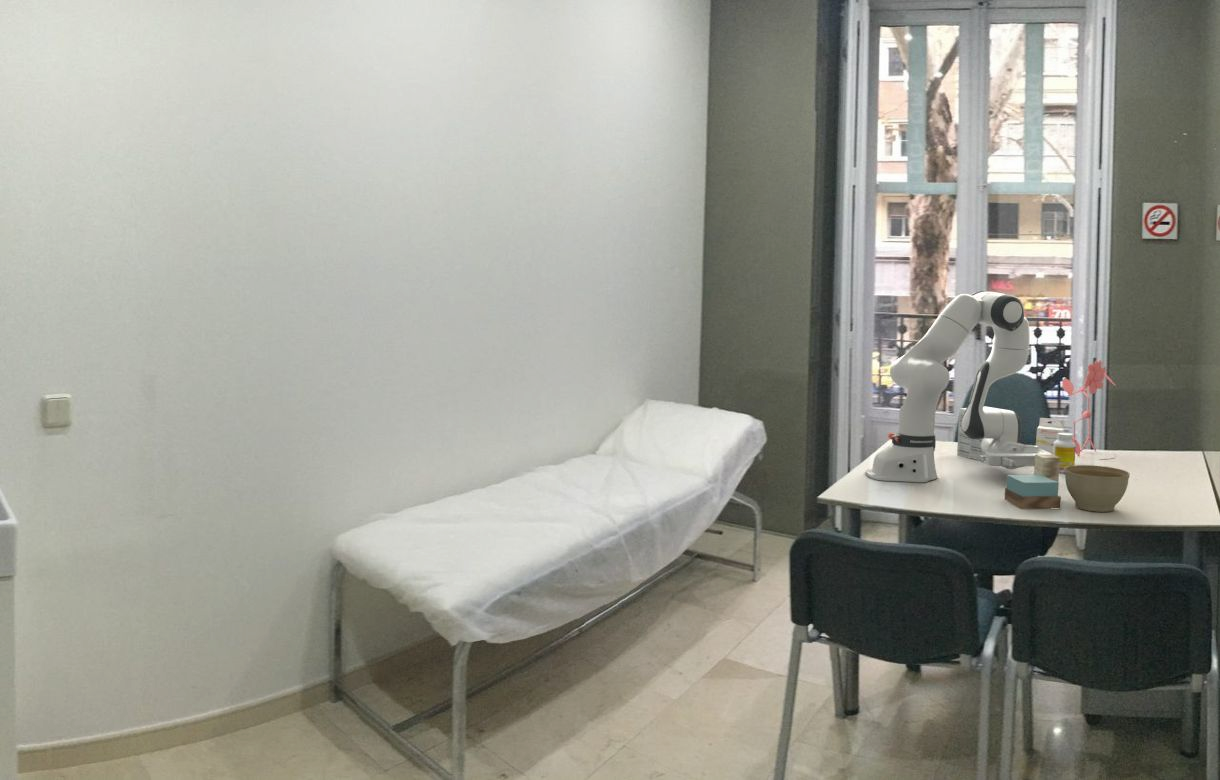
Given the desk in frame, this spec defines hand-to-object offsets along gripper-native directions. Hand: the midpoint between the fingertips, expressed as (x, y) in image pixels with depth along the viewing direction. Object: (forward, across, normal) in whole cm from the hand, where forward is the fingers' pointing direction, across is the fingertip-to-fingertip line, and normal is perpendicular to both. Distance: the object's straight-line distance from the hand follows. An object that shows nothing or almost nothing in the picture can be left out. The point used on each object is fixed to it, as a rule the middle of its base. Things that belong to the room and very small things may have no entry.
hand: (1028, 463), depth 277 cm
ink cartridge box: (-40, +25, +7) cm, 48 cm away
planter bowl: (+27, +7, +7) cm, 28 cm away
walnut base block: (+22, -9, +8) cm, 25 cm away
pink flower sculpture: (-48, +44, +7) cm, 66 cm away
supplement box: (-45, +4, +7) cm, 46 cm away
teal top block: (+22, -9, +4) cm, 24 cm away
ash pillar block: (+12, 0, +7) cm, 14 cm away
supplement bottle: (-21, +21, +7) cm, 31 cm away
